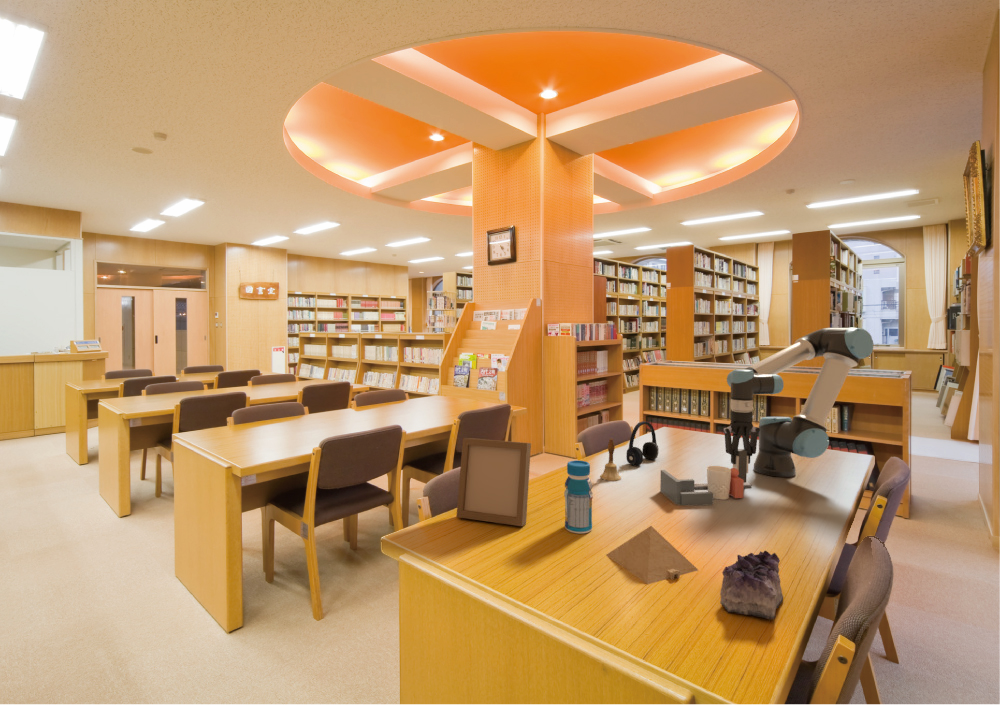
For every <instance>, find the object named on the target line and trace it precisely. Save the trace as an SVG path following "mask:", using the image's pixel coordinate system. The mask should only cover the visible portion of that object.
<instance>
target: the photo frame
mask: <svg viewBox="0 0 1000 705" xmlns="http://www.w3.org/2000/svg"><path fill="white" fill-rule="evenodd" d="M531 448H532V443H531V442H519V441H511V440H510V441H508V440H494V439H482V438H472V437H471V438H470V437H469V438H468V437H463V438H462V445H461V458H460V470H459V481H458V492H457V494H458V495H457V504H456V505H457V506H456V518H461V519H469V520H475V521H483V522H490V523H496V524H502V525H509V526H510V525H511V526H517V527H523V526H525V525H527V515H528V514H527V513H528V512H527V511H528V499H529V497H528V496H529V481H530V466H531V463H530V462H531Z"/></svg>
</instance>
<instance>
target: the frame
mask: <svg viewBox="0 0 1000 705" xmlns="http://www.w3.org/2000/svg"><path fill="white" fill-rule="evenodd" d="M694 484H695V479H694V478H692V479H689V478H688V479H685V478H683V479H678V478H676V477H675V476H674V475H672V474H671V473H670V472H668V471H667V470H666V469H660V484H659V485H660V486H659V488H660V493H661V494H662V495H664V496H665V497H666V498H668V499H669V501H671V502H672V503H674V504H675V505H676V506H683V507H684V506H704V505H705V506H709V505H711V506H713V505H714V498H713V493H712V492H708V491H695V489H694Z"/></svg>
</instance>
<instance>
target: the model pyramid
mask: <svg viewBox="0 0 1000 705" xmlns="http://www.w3.org/2000/svg"><path fill="white" fill-rule="evenodd" d="M605 555H606V557H608V558H610V559H611V560H612V561H614V562H615V563H617V564H618V565H620V567H622V568H623V569H625V570H627V571H628V572H629V573H630V574H632V575H633V576H635V577H637V579H639V580H640V581H642V582H643V583H645V584H646V585H651V584H655V583H658V582H662V581H665V580H668V579H670V580H671V581H672V580H675V578H677V579H680V576H682V575H687V574H690V573H694V572H697V571H699V569H698V568H697V567H696V566H695V565H694V564H693V563H692V562H691V561H690V560H688V559H687V557H685V556H684V555H683V554H682V553H681V552H680V551H679V550H678V549H676V547H675V546H674V545H672V544H671V543H670V542H669V541H668V540H667V539H666V538H665V537H664V536H662V534H661V533H660V532H659V531H657V529H655V528H654V527H653V526H652V525H649V526H648V527H647V528H645V529H643V530H642V531H640V532H638V534H636V535H634V536H633V537H631V538H630V539H628V540H627V541H625V542H624V543H622V544H621V545H619V546H617V547H616V548H614V549H613V550H611V551H609V552H608V553H606V554H605Z"/></svg>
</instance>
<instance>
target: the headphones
mask: <svg viewBox="0 0 1000 705" xmlns="http://www.w3.org/2000/svg"><path fill="white" fill-rule="evenodd" d="M643 425H647V426H648V427H649V429H650V433H651V441H648V442H645V443H643V445H642V449H641V448H639V447H636V446H634V440H635V438H636V434H637V432H638V431H639V429H640V428H641V427H642V426H643ZM628 444H629V445H628V449H627V450H626V461H627V463H628V464H629V465H632V466H633V467H634V466H635V467H636V466H640V465H641V464H642V463H643V461H644V458H645V459H646V460H656V459H657V458H658V456H659V446H658V444H657V437H656V432H655V428H654V427H653V424H652V423H651V422H649V421H639V422H638V423H636V425H635V427H634V428H633V429H632V432H631V434H630V439H629V443H628Z"/></svg>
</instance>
